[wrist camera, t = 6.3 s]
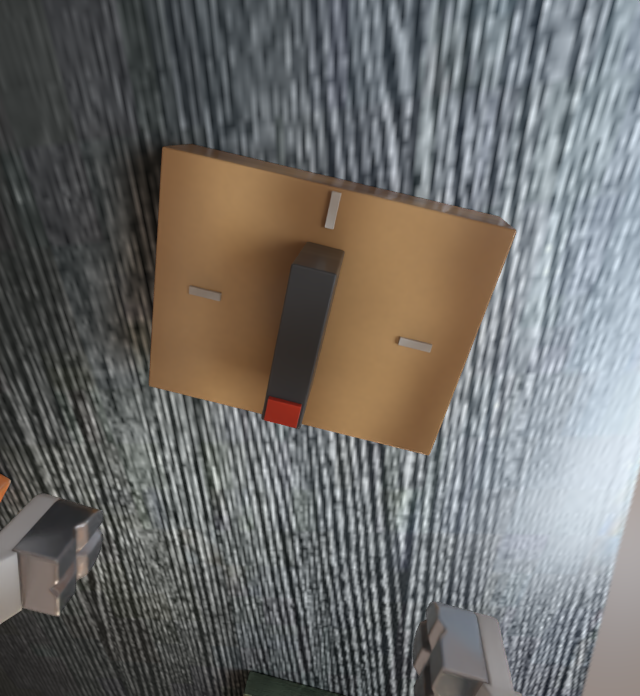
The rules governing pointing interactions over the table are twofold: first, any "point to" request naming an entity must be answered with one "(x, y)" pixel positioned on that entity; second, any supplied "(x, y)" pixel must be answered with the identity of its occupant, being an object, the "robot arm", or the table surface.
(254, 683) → the button box
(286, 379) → the dark grey block
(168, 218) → the control panel
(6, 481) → the supplement box
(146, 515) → the table surface
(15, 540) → the robot arm
